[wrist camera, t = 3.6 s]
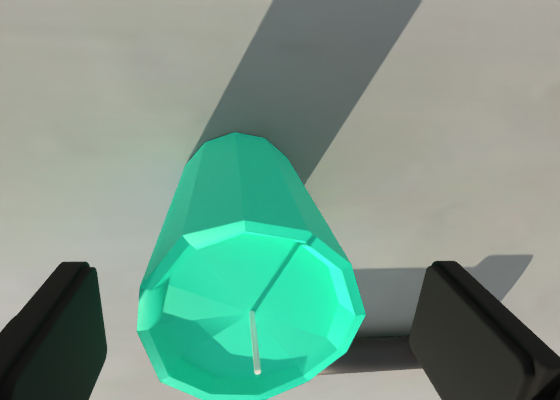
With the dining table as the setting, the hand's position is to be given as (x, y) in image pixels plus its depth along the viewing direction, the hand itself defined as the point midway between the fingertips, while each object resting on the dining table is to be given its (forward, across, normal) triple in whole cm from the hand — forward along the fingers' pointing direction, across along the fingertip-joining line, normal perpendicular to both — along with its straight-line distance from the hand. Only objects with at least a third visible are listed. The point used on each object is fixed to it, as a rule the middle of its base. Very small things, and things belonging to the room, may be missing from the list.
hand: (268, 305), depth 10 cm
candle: (+10, +1, 0) cm, 10 cm away
